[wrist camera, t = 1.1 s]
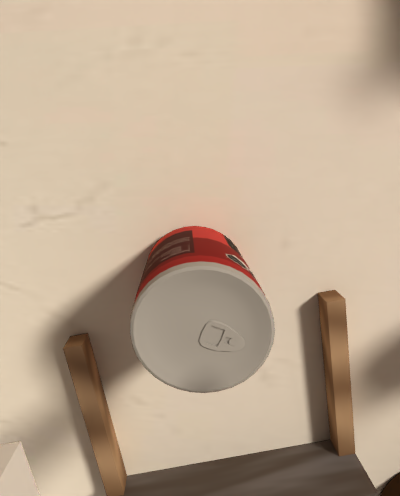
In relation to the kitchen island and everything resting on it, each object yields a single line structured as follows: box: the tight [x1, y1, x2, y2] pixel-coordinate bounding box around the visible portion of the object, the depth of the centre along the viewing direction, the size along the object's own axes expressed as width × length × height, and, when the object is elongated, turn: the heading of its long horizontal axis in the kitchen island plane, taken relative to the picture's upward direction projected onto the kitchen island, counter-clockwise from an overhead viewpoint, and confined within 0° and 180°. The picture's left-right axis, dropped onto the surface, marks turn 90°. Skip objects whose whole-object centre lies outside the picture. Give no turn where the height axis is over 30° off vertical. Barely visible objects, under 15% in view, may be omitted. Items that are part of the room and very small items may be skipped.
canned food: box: [130, 226, 275, 393], centre depth 25 cm, size 8×8×11 cm
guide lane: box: [63, 290, 378, 496], centre depth 31 cm, size 17×23×6 cm
